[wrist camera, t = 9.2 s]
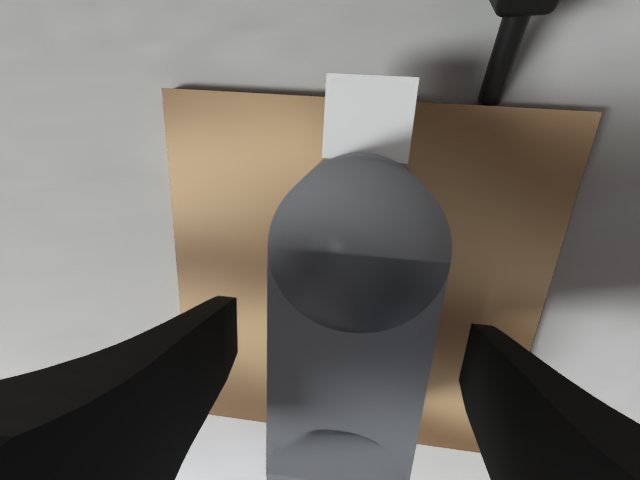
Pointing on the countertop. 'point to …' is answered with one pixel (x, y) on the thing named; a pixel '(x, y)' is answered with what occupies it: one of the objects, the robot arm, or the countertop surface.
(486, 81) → the power plug
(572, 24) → the countertop surface
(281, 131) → the oak board
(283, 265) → the grey capsule with tab
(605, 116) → the countertop surface
